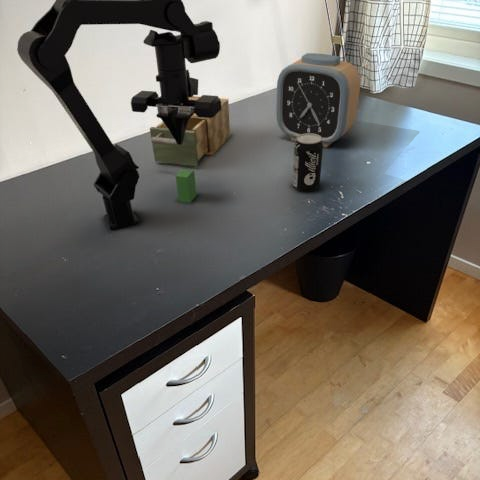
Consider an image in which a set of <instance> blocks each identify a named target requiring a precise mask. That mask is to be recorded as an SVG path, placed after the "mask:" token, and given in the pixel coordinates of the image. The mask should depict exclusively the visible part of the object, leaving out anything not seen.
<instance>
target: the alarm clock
mask: <svg viewBox="0 0 480 480" xmlns="http://www.w3.org/2000/svg"><path fill="white" fill-rule="evenodd" d="M360 75H361V74H360V73H359V71H358V68H357V67H356V66H355V65H354V64H353V63H351V62H348V61H346V60H345V61H344V60H342V59H341V57H340V56H339V55H335V54H334V55H333V54H325V53H317V52H316V53H313V52H307V53H305V54H303V55H301V58H300V59H298V60H297V61H295V62H293V63H291V64H289V65H287V66H286V67H284V68H283V69H282V70H281V71H280V73H279V75H278V77H277V78H278V79H277V81H276V114H275V115H276V121H277V125H278V127H279V129H280V130H281V131H282V132H283V133H284V134H285V135H286V136H289V137H290V141H293V142H296V140H297V136H299V135H301V134H306V133H312V134H317V135H319V136H321V138H322V140H321V141H322V143H323V148H328V147H329V146H330V145H332V143H334V142H336V141H338V140H340V138H341V137H343V136H344V135H345V134H347V132H348V131H349V130H351V128H353V126H354V124H355V122H356V121H357V114H358V109H359V108H358V107H359V99H360V92H361V91H360V90H361V76H360Z"/></svg>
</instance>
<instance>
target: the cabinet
mask: <svg viewBox="0 0 480 480" xmlns="http://www.w3.org/2000/svg"><path fill="white" fill-rule="evenodd" d="M200 97H201V96H198V95H194V96H192V97H189V100H198V99H199V98H200ZM219 99H220V100H221V110H220V111H219V112H218V113H217V114H216V115H215V116H214V117H212V118H204V117H198V116H197V115H196V114H194V115H193V116H191V117H190V118H200V119H207V126H208V139H209V150H208V151H207V152H206V153H205V154H204V156H206V155H207V156H213V155H214V154H215V153H216V152H217V151H218V150H219V149H220V148H221V147H222V145H223V144H224V143H226V142H227V140H229V138H230V137H231V125H230V124H231V123H230V104H229V98H224V97H223V98H222V97H221V98H220V97H219ZM178 113H179V112H178Z"/></svg>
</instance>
